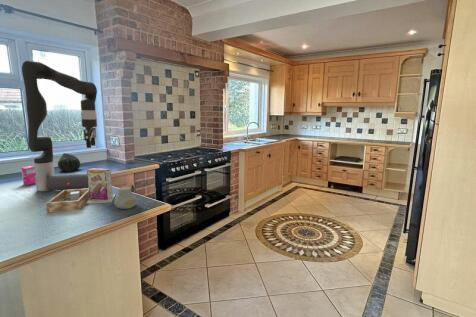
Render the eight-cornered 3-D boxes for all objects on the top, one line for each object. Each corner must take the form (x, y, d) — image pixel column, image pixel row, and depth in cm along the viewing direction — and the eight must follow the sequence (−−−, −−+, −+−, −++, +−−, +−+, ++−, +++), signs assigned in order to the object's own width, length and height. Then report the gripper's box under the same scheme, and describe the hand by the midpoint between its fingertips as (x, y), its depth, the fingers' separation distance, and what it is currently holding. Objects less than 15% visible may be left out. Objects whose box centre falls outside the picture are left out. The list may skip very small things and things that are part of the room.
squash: (84, 163, 213) (76, 149, 216) (65, 167, 201) (56, 152, 204) (79, 173, 221) (71, 159, 224) (60, 177, 209) (52, 162, 211)
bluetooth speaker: (47, 194, 154) (45, 177, 152) (53, 189, 162) (51, 173, 160) (90, 191, 160) (89, 175, 158) (94, 186, 169) (92, 171, 167)
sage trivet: (86, 204, 138) (86, 202, 138) (92, 196, 150) (92, 195, 150) (111, 202, 141) (111, 200, 141) (115, 195, 153) (115, 193, 153)
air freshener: (132, 202, 141) (130, 184, 139) (140, 206, 136) (139, 187, 134) (111, 208, 133) (110, 189, 131) (120, 212, 128) (118, 192, 126)
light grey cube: (70, 201, 143) (70, 194, 142) (72, 198, 146) (71, 192, 146) (79, 200, 144) (78, 193, 144) (80, 197, 148) (79, 191, 147)
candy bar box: (89, 199, 144) (86, 169, 141) (95, 196, 149) (92, 167, 146) (107, 200, 142) (105, 170, 139) (113, 197, 147) (111, 168, 144)
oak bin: (47, 212, 127) (46, 203, 126) (64, 197, 148) (63, 190, 147) (79, 209, 131) (78, 201, 130) (91, 195, 151) (91, 188, 151)
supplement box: (22, 184, 173) (20, 167, 171) (33, 182, 178) (30, 165, 176) (27, 185, 170) (25, 168, 168) (37, 183, 176) (35, 166, 174)
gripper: (92, 119, 143) (94, 148, 146) (99, 117, 156) (101, 144, 160) (77, 118, 141) (79, 148, 144) (85, 117, 155) (87, 144, 158)
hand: (91, 146), depth 152 cm, fingers open, 8 cm apart
